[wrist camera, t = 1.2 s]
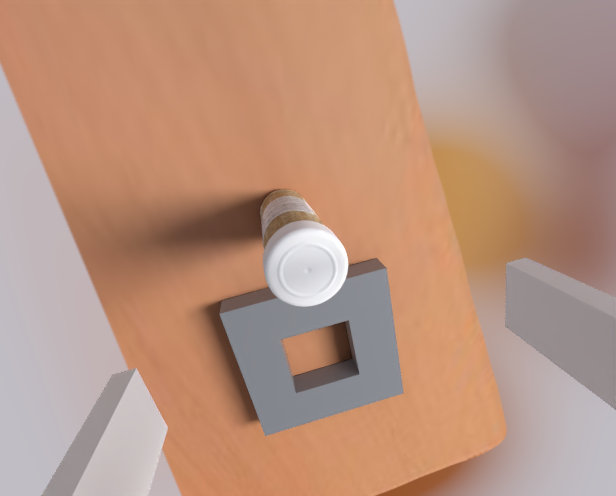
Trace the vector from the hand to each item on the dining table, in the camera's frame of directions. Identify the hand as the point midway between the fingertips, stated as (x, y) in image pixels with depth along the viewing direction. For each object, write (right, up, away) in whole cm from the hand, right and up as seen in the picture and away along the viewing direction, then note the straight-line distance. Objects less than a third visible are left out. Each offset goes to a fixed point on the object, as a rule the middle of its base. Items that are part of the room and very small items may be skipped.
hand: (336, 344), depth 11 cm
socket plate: (0, -7, +23) cm, 24 cm away
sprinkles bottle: (-3, +7, +18) cm, 20 cm away
